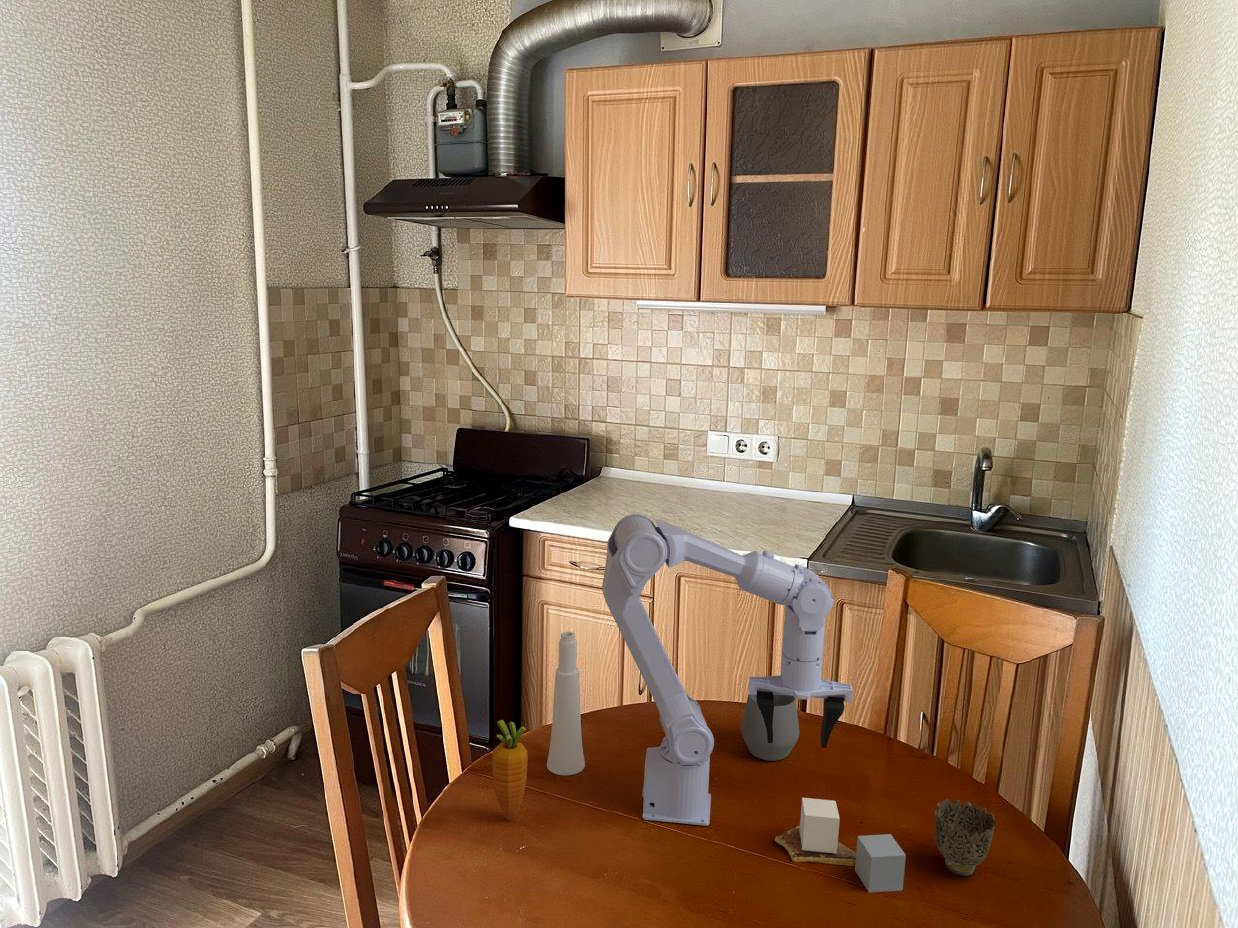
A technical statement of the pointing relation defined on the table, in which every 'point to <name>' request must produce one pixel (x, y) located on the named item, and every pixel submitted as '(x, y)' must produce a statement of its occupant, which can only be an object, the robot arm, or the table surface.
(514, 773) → the carrot
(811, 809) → the cream block
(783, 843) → the shard
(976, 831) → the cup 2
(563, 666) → the cosmetic bottle
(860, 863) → the slate block
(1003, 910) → the table surface
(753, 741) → the cup
